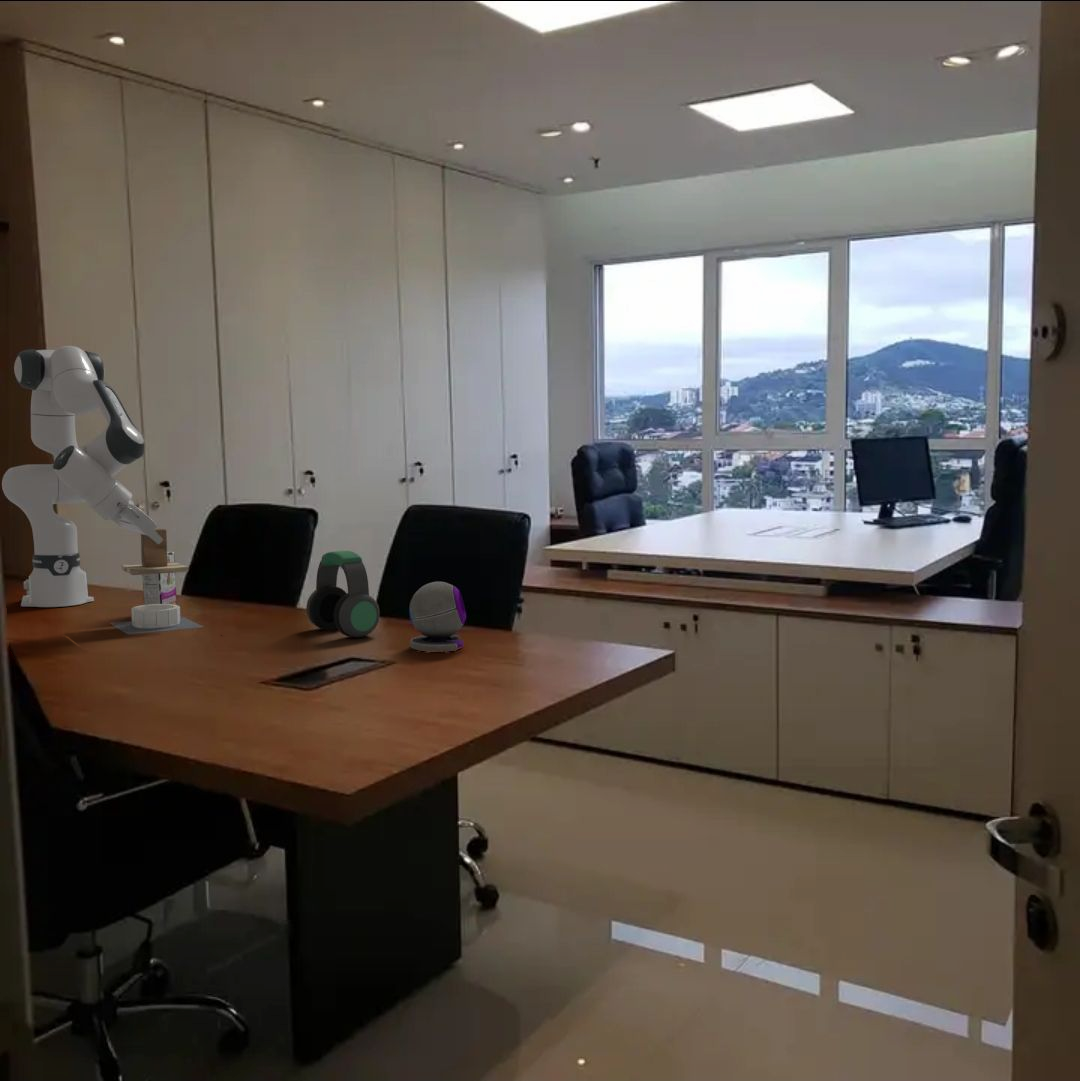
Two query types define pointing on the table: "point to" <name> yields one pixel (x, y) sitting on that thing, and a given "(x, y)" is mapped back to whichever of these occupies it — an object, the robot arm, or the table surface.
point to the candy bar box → (160, 586)
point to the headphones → (343, 597)
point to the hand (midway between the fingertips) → (156, 540)
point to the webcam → (437, 617)
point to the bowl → (155, 616)
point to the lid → (154, 558)
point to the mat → (129, 629)
